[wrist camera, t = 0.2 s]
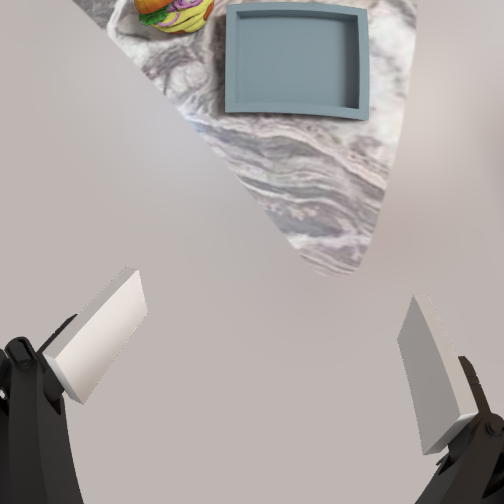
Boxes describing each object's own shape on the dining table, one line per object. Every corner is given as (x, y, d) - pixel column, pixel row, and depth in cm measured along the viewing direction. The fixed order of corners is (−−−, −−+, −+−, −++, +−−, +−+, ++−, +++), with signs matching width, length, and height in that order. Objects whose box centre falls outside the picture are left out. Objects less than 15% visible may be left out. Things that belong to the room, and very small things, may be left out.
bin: (232, 12, 28) (226, 4, 25) (362, 16, 25) (366, 9, 23) (231, 112, 35) (225, 112, 32) (363, 120, 32) (368, 120, 29)
